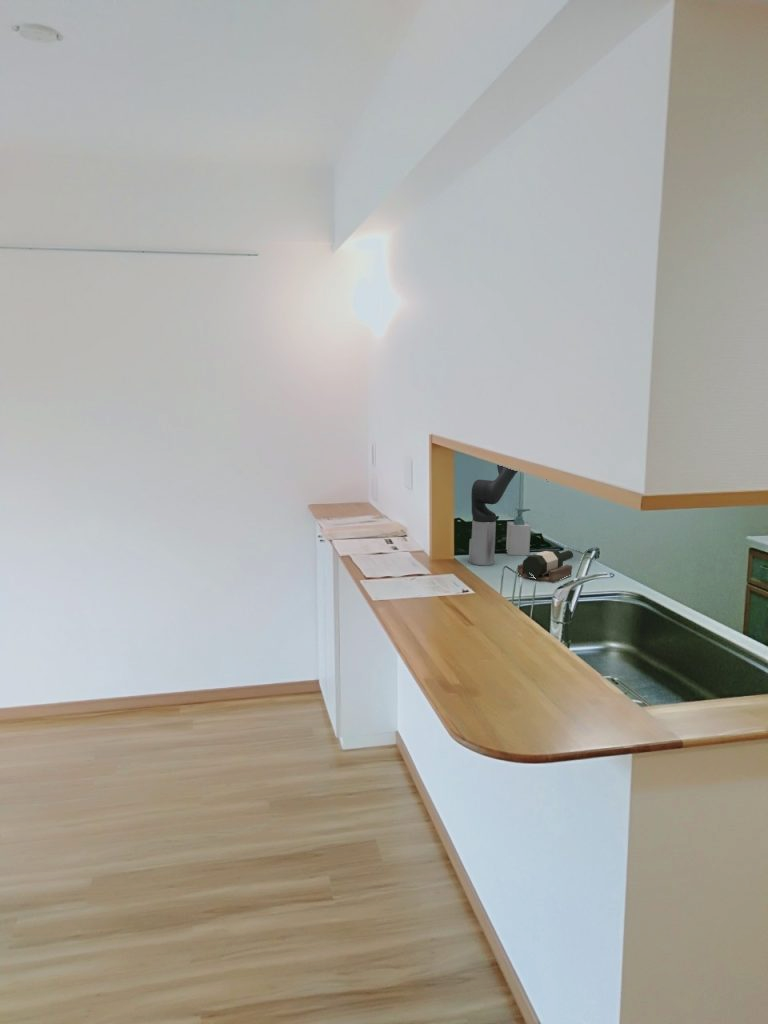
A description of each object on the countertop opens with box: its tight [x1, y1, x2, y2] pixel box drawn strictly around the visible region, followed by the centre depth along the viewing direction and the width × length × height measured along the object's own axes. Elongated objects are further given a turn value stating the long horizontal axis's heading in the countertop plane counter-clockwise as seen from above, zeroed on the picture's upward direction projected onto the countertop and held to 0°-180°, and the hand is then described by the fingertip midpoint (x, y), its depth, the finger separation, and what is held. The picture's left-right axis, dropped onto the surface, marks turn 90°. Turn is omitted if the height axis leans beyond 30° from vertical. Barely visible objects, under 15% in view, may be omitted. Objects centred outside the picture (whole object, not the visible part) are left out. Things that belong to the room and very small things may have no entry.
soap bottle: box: [505, 508, 532, 556], centre depth 332 cm, size 9×9×19 cm
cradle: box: [517, 563, 573, 584], centre depth 296 cm, size 15×14×4 cm
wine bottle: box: [522, 548, 574, 578], centre depth 301 cm, size 8×8×30 cm
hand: (557, 480), depth 308 cm, fingers open, 8 cm apart
